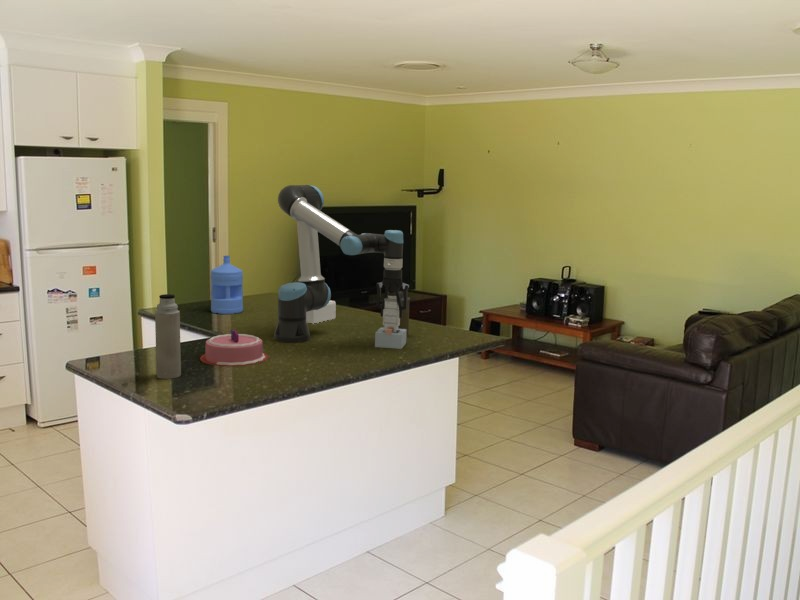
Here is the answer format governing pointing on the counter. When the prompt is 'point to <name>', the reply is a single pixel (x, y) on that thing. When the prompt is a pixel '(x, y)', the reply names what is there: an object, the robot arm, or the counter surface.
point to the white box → (322, 313)
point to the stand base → (390, 338)
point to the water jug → (226, 288)
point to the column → (391, 313)
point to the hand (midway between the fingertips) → (391, 324)
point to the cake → (233, 350)
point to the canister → (404, 315)
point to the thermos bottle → (167, 338)
